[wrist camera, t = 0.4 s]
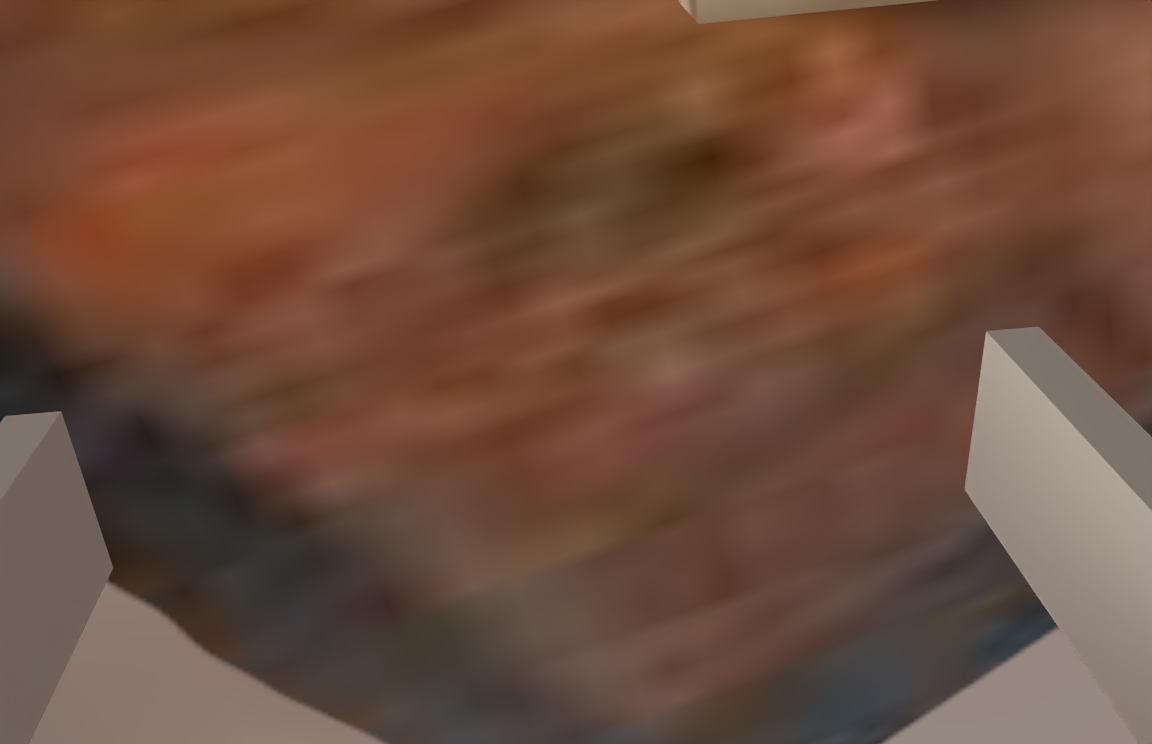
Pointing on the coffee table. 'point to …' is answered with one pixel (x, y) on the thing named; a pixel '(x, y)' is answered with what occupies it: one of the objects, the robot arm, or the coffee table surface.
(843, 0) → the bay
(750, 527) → the coffee table surface
